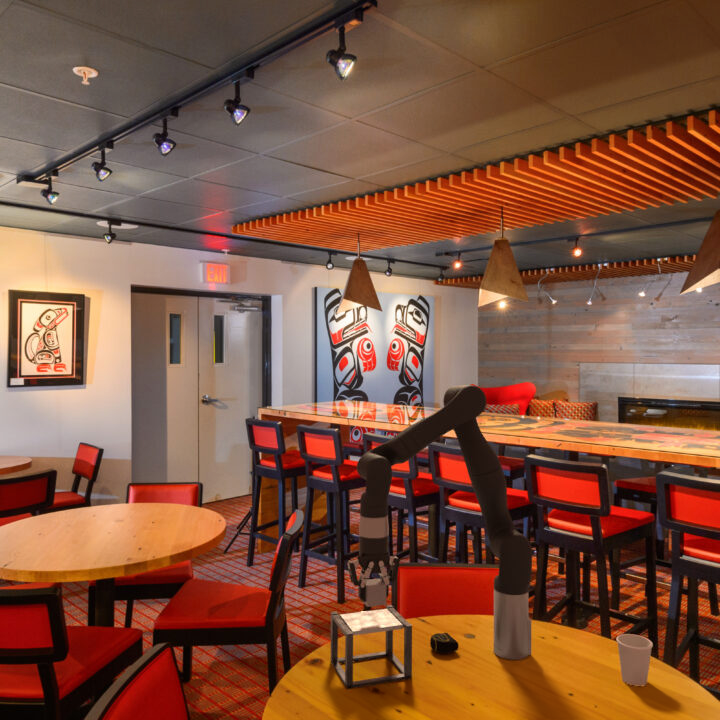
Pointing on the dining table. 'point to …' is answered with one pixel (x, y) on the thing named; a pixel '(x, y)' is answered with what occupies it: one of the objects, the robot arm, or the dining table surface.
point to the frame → (349, 658)
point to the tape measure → (443, 643)
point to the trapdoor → (371, 621)
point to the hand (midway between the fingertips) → (373, 599)
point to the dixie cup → (634, 658)
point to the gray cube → (375, 592)
